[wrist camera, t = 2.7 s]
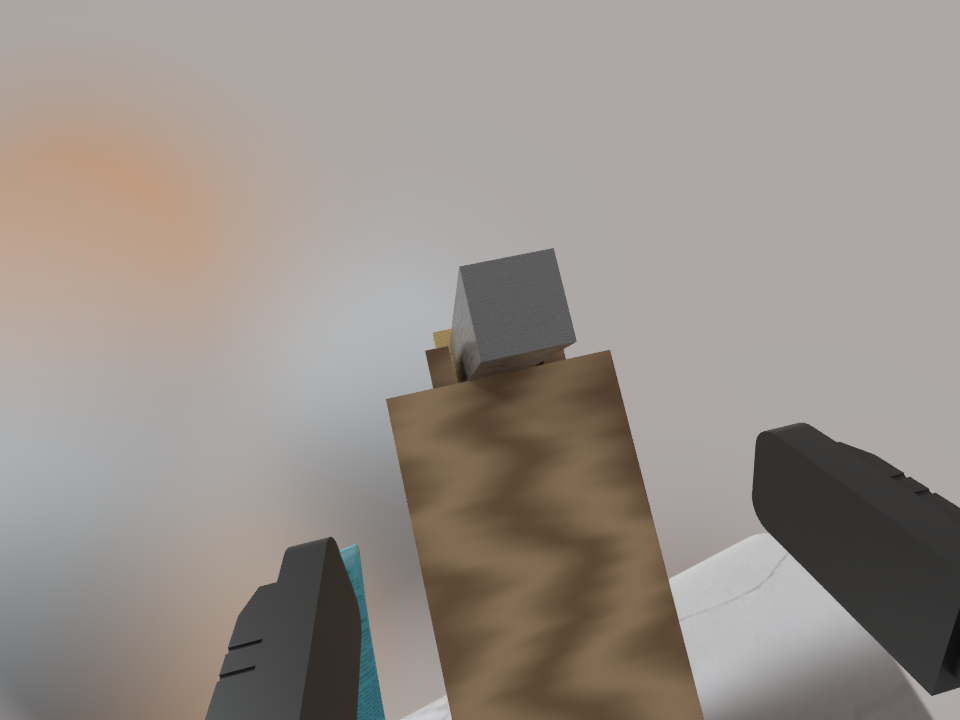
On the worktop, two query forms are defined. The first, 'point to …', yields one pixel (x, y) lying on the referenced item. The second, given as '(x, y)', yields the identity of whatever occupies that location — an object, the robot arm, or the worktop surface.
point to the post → (540, 546)
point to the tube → (364, 644)
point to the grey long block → (507, 316)
